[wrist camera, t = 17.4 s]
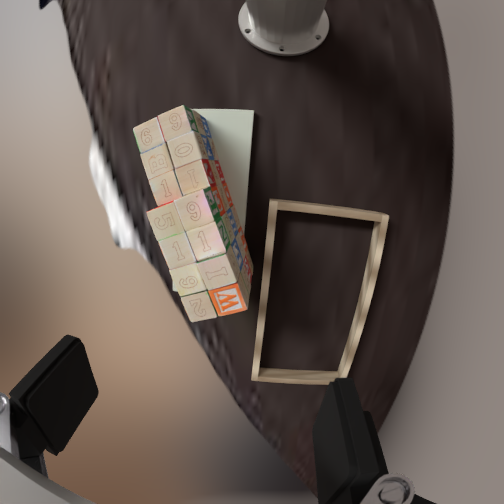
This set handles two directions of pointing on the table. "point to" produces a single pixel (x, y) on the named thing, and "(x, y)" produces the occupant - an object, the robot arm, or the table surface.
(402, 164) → the table surface
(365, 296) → the beige open rectangular frame
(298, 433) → the table surface
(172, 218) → the stack of blocks
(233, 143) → the sage mat
